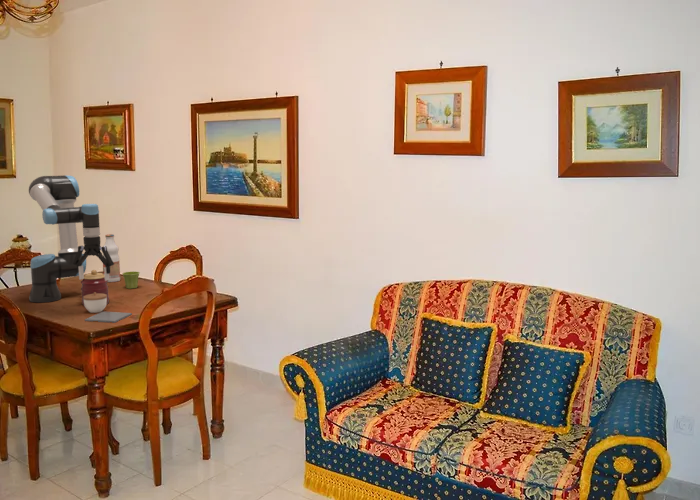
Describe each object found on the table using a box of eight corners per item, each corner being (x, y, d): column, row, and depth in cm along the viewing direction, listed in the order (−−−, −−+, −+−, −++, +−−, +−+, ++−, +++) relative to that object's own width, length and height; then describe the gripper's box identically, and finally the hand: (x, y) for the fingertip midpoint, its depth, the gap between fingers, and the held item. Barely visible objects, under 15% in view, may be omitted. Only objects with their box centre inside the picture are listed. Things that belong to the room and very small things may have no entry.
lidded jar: (100, 307, 318) (99, 289, 317) (111, 310, 311) (110, 292, 310) (79, 311, 310) (78, 292, 309) (91, 315, 303) (90, 295, 302)
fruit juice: (116, 282, 379) (113, 235, 374) (100, 282, 380) (98, 235, 375) (123, 279, 388) (120, 233, 384) (108, 279, 389) (105, 233, 385)
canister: (76, 306, 321) (74, 271, 318) (90, 300, 333) (88, 267, 331) (100, 307, 319) (99, 272, 316) (114, 301, 331) (112, 268, 329)
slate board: (84, 321, 293) (84, 319, 293) (103, 313, 307) (103, 311, 307) (114, 322, 290) (114, 321, 290) (131, 314, 304) (131, 313, 304)
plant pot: (135, 289, 359) (134, 274, 358) (119, 289, 360) (119, 274, 359) (143, 286, 368) (142, 271, 367) (128, 285, 369) (127, 271, 368)
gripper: (63, 236, 304) (66, 280, 307) (111, 237, 299) (113, 282, 302) (73, 234, 311) (75, 277, 314) (119, 235, 306) (122, 279, 309)
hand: (94, 279), depth 308 cm, fingers open, 13 cm apart
